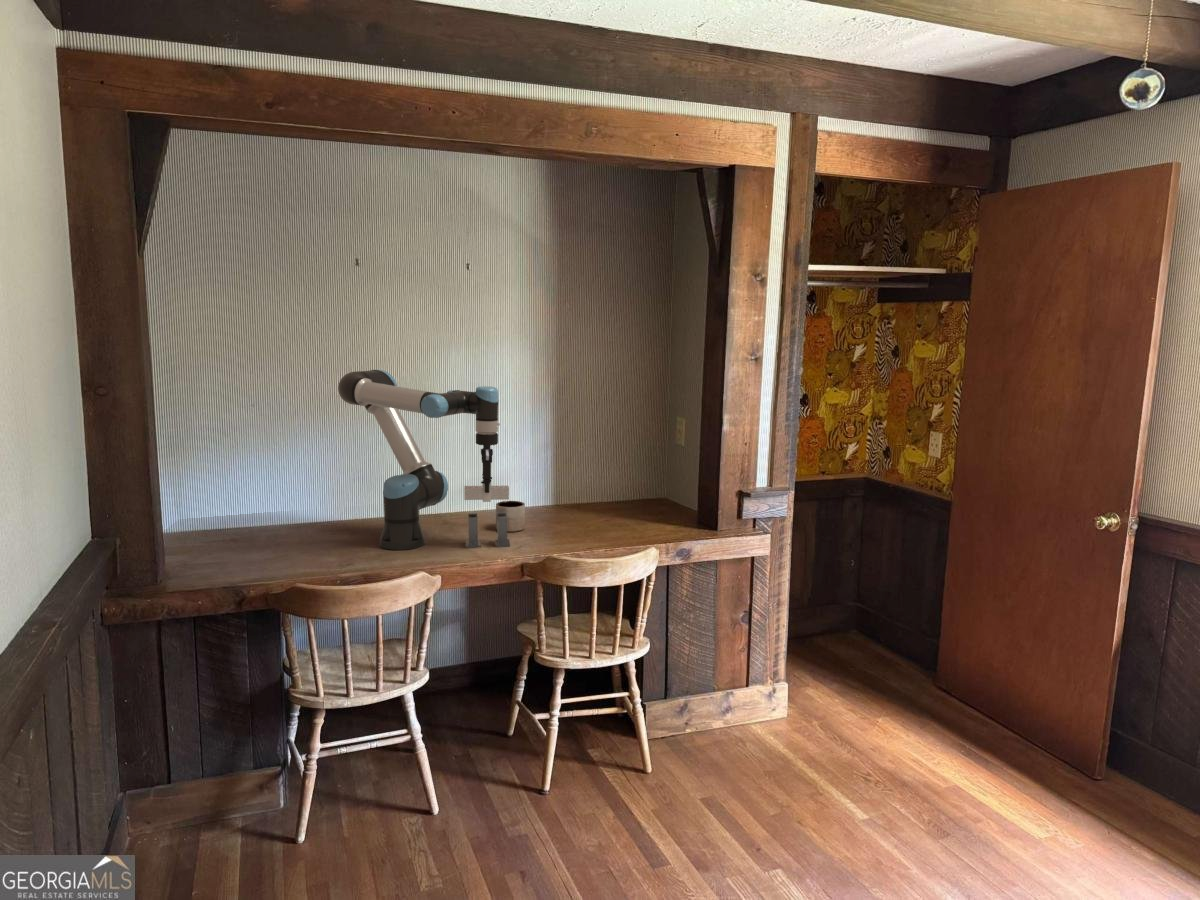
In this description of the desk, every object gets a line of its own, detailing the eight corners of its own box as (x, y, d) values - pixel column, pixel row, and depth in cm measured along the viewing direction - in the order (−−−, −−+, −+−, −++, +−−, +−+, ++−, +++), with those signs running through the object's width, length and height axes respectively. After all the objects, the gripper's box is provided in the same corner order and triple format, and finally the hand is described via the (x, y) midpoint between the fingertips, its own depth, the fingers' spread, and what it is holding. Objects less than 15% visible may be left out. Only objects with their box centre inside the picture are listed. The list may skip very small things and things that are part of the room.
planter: (527, 525, 300) (527, 501, 299) (521, 533, 289) (521, 507, 288) (499, 524, 301) (499, 500, 300) (492, 532, 290) (492, 506, 289)
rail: (464, 500, 269) (464, 488, 268) (464, 497, 272) (464, 485, 272) (508, 499, 271) (509, 488, 270) (508, 496, 275) (508, 485, 274)
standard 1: (465, 548, 270) (465, 518, 268) (465, 542, 276) (465, 513, 275) (480, 547, 271) (480, 518, 269) (480, 542, 277) (480, 513, 275)
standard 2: (495, 547, 271) (495, 517, 270) (494, 541, 278) (494, 512, 276) (510, 546, 272) (510, 517, 271) (509, 541, 279) (508, 512, 277)
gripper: (499, 436, 260) (498, 505, 264) (497, 428, 277) (496, 494, 281) (476, 436, 259) (475, 506, 263) (475, 428, 276) (474, 494, 280)
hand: (486, 499), depth 272 cm, fingers closed on rail, 4 cm apart
